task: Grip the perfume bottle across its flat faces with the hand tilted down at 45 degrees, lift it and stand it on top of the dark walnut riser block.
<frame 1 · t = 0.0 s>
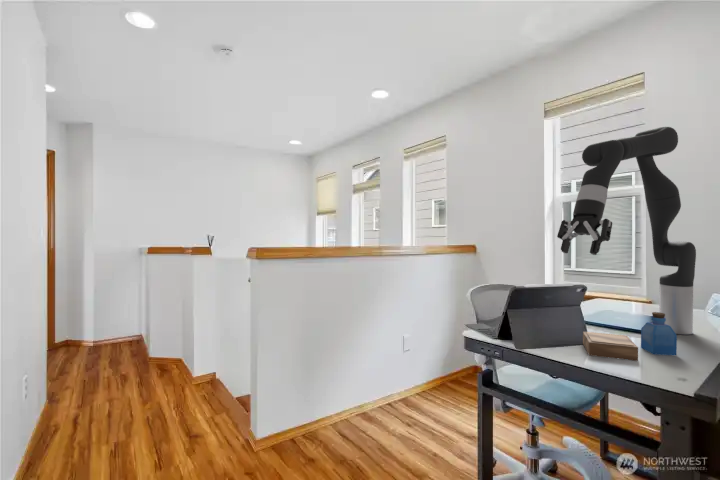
hand: (578, 253, 103), 31 cm above the table, tool tilted 20°, fingers open, 8 cm apart
perfume bottle: (658, 352, 108), on the table
riser: (608, 351, 109), on the table
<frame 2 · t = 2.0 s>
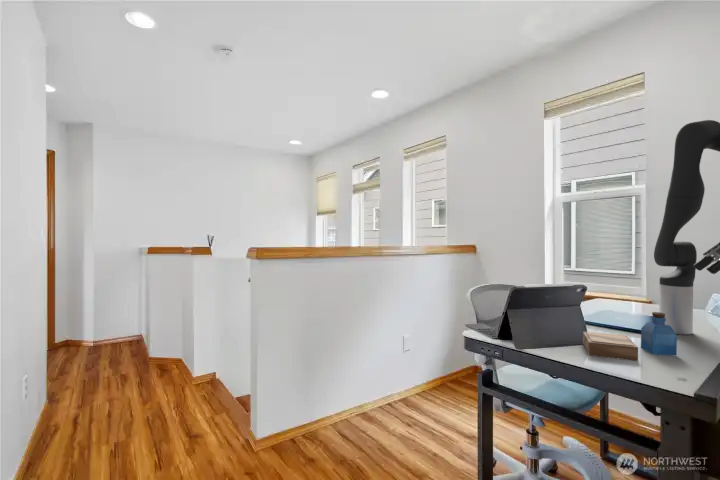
hand: (702, 270, 102), 26 cm above the table, tool tilted 45°, fingers open, 8 cm apart
nothing on the table moved.
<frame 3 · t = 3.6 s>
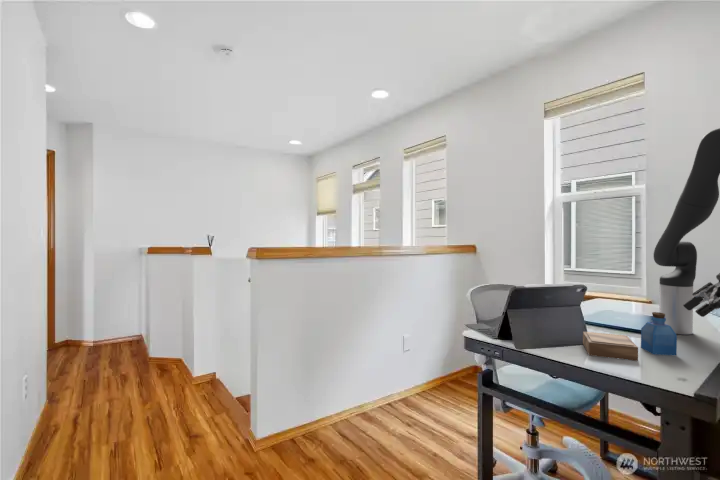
hand: (691, 311, 105), 13 cm above the table, tool tilted 45°, fingers open, 8 cm apart
nothing on the table moved.
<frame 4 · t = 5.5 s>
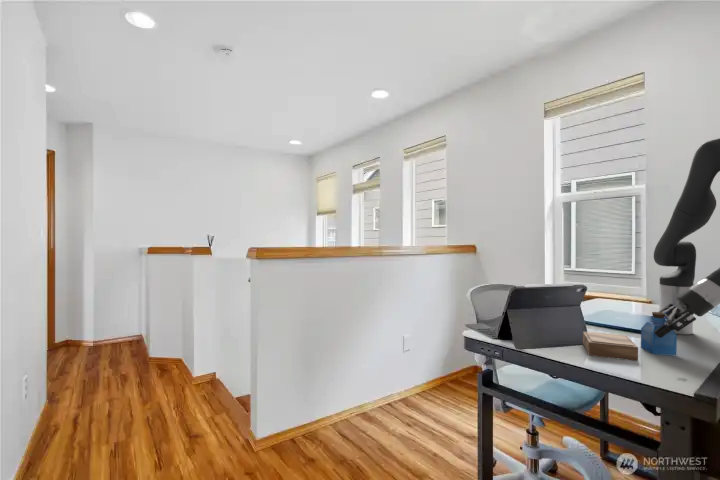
hand: (652, 331, 109), 6 cm above the table, tool tilted 45°, fingers closed on perfume bottle, 7 cm apart
perfume bottle: (658, 351, 108), on the table, touching gripper
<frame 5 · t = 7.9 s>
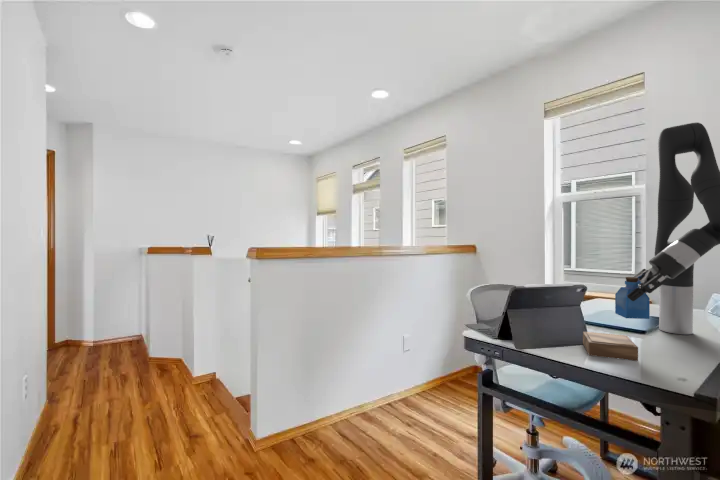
hand: (626, 296, 108), 17 cm above the table, tool tilted 45°, fingers closed on perfume bottle, 7 cm apart
perfume bottle: (631, 316, 108), point 11 cm above the table, touching gripper
when the fingers open (11 cm above the table, at t = 10.0 s): perfume bottle stays where it is, resting on riser.
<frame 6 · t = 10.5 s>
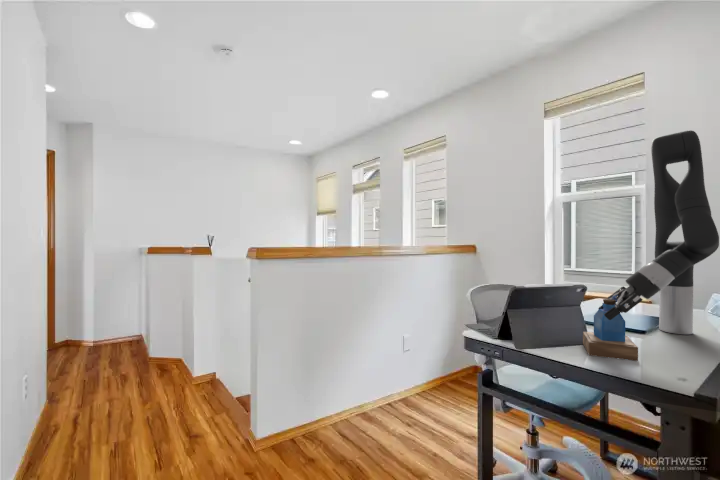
hand: (603, 314, 109), 12 cm above the table, tool tilted 45°, fingers open, 8 cm apart
perfume bottle: (608, 338, 109), point 4 cm above the table, touching riser
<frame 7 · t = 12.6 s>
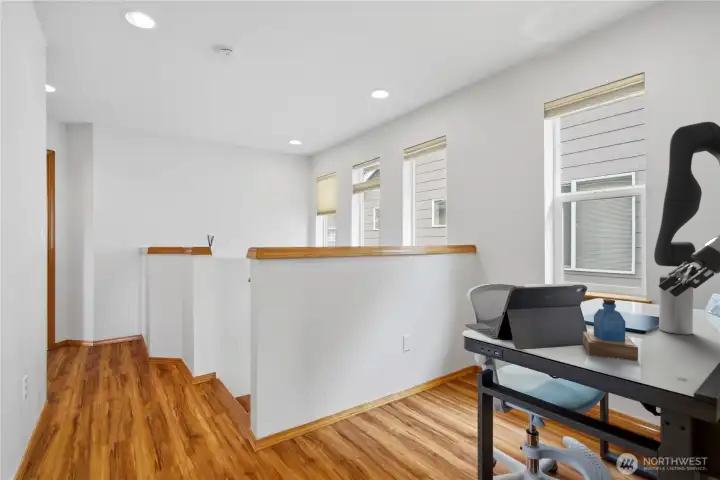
hand: (666, 291, 103), 20 cm above the table, tool tilted 45°, fingers open, 8 cm apart
nothing on the table moved.
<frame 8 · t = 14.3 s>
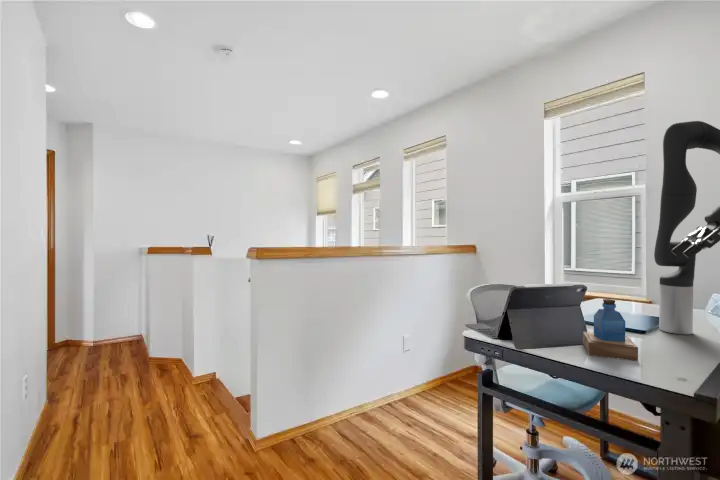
hand: (679, 254, 102), 31 cm above the table, tool tilted 45°, fingers open, 8 cm apart
nothing on the table moved.
at the end: perfume bottle inside the target area on the riser (0.2 cm from its centre), point 4.0 cm above the riser's base; perfume bottle tilted 0°; the gripper is holding nothing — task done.
